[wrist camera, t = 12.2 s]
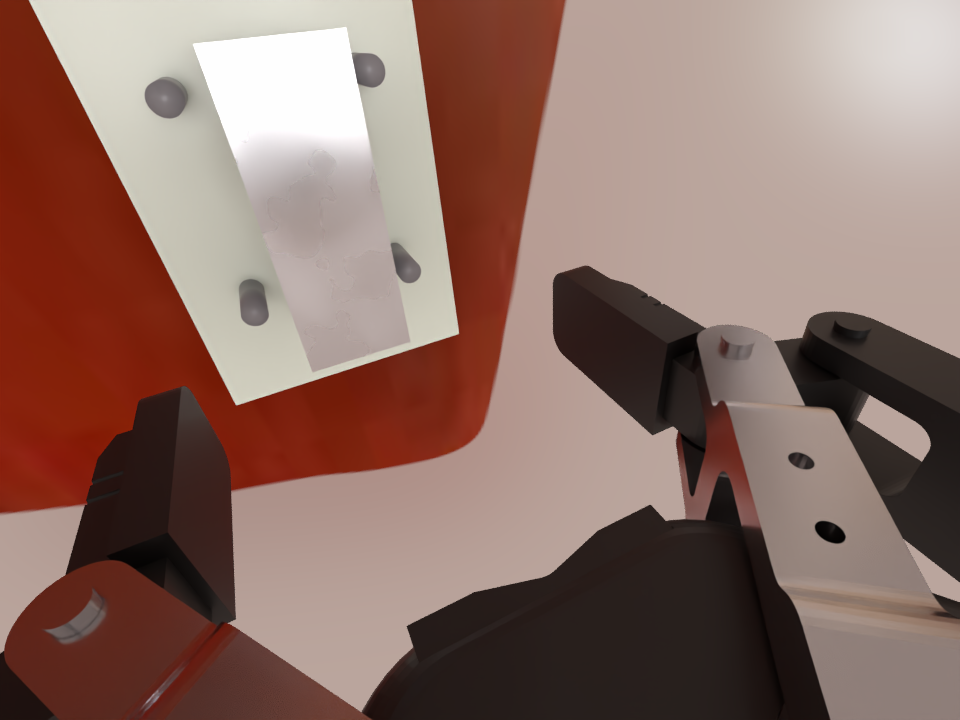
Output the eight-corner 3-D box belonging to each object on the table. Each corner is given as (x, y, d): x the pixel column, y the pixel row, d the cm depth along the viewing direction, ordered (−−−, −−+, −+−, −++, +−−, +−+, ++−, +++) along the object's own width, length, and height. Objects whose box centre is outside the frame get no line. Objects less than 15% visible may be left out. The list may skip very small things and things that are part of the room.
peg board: (-18, -114, 16) (-81, -156, 13) (383, -123, 20) (416, -158, 17) (235, 391, 29) (237, 437, 26) (450, 323, 33) (477, 356, 30)
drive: (200, 44, 19) (193, 44, 14) (315, 31, 21) (348, 27, 15) (293, 306, 26) (312, 372, 21) (375, 284, 28) (412, 341, 22)
